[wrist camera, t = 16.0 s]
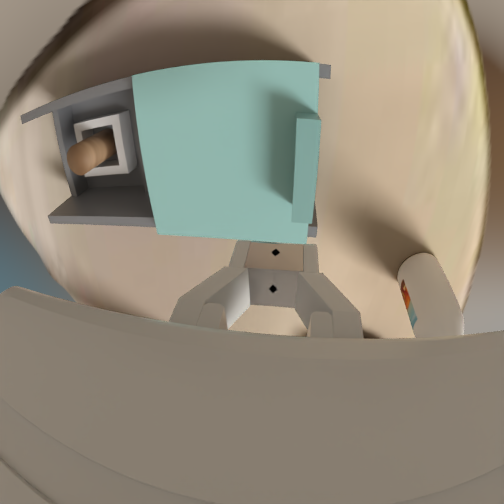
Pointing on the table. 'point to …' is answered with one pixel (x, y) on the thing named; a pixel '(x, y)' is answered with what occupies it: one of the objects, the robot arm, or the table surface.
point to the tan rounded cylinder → (91, 151)
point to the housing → (114, 168)
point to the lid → (231, 148)
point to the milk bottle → (429, 298)
